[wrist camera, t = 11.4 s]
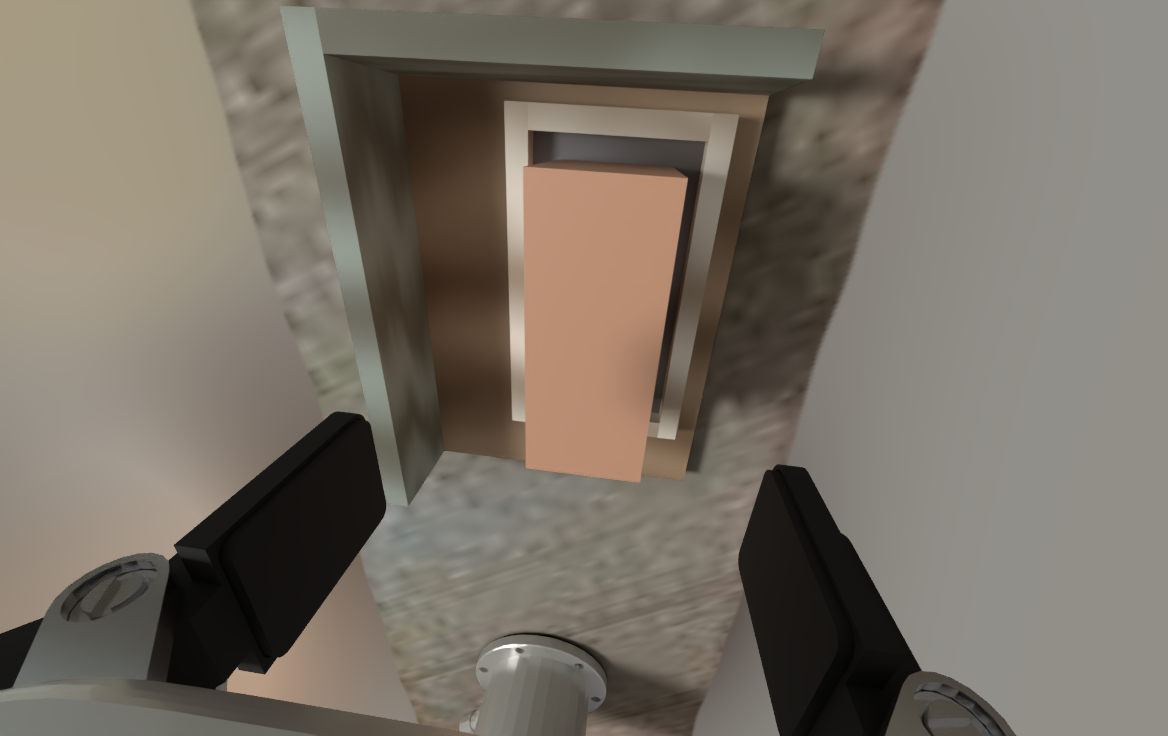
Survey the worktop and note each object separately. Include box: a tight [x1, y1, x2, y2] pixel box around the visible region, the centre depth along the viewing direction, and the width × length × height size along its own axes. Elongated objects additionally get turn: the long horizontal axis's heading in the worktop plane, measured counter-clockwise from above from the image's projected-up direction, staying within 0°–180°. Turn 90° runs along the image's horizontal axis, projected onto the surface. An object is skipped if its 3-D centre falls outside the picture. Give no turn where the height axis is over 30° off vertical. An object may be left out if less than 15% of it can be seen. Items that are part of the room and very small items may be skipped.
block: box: [523, 159, 688, 483], centre depth 19 cm, size 12×5×7 cm, turn 177°
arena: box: [279, 6, 825, 507], centre depth 21 cm, size 22×17×6 cm
